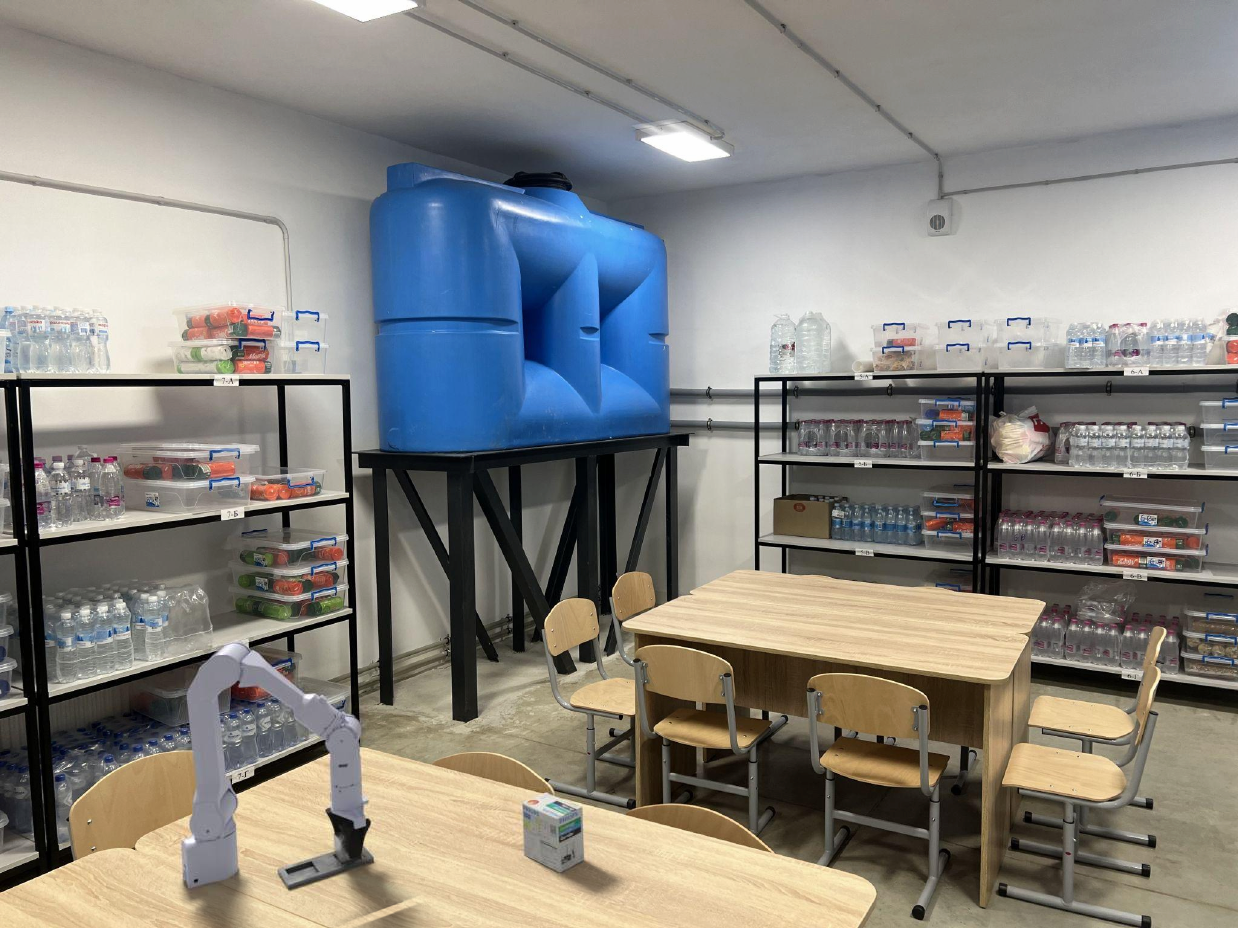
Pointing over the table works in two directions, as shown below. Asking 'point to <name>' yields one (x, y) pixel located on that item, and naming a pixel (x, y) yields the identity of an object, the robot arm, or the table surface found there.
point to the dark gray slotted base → (319, 868)
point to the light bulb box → (553, 831)
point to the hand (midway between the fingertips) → (349, 849)
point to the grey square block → (342, 849)
